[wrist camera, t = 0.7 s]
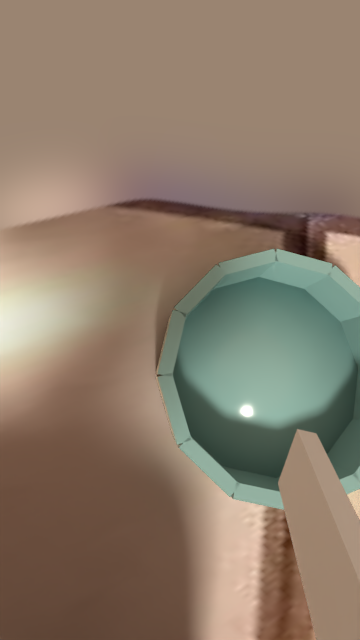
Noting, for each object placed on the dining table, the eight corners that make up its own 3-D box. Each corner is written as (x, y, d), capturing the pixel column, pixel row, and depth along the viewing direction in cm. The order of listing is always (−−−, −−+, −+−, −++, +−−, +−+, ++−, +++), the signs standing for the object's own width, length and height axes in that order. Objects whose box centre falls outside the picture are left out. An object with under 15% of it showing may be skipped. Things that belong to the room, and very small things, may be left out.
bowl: (351, 506, 29) (392, 532, 24) (134, 460, 28) (132, 477, 23) (372, 298, 34) (411, 285, 29) (185, 248, 32) (193, 225, 27)
